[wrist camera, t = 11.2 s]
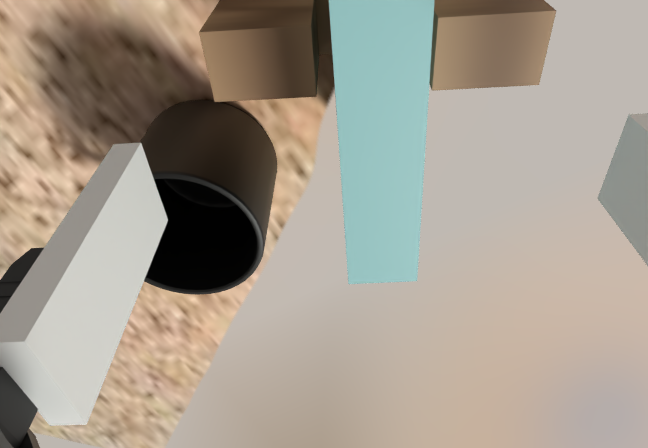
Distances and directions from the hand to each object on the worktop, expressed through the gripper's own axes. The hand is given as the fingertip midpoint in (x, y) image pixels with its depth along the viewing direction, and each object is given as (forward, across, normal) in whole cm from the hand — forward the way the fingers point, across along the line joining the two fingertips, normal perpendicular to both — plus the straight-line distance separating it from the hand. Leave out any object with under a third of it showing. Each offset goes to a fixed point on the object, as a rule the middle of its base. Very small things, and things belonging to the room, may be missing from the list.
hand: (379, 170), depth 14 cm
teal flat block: (+18, +1, 0) cm, 18 cm away
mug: (+19, -12, -11) cm, 24 cm away
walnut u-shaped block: (+18, +1, 0) cm, 18 cm away
